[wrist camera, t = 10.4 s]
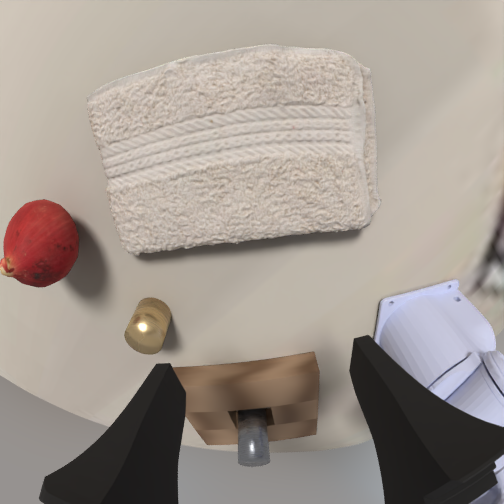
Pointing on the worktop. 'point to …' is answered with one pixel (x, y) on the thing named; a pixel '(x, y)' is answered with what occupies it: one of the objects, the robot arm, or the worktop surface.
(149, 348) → the short brass pin
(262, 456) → the long steel pin
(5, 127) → the worktop surface
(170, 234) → the washcloth
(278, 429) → the walnut hole plate
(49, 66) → the worktop surface
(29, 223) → the onion
